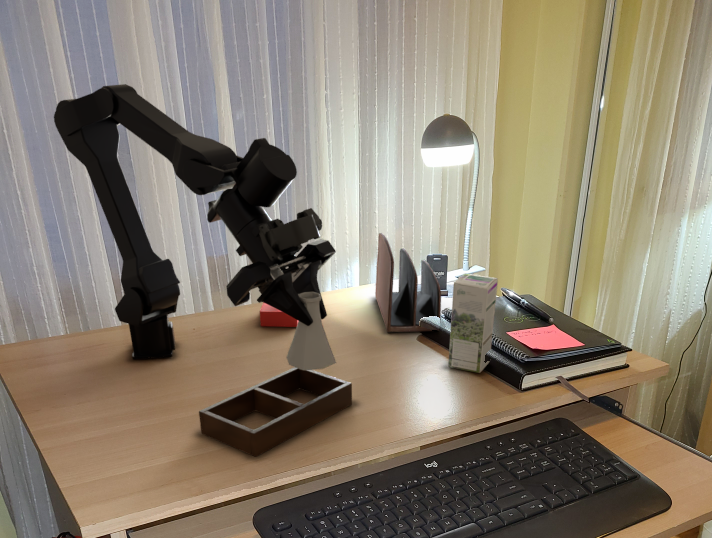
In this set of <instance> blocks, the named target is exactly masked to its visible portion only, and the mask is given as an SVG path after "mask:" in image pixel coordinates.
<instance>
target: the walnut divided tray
mask: <svg viewBox="0 0 712 538" xmlns="http://www.w3.org/2000/svg"><path fill="white" fill-rule="evenodd" d="M352 388H353V383H352V382H350V381H347V380H344V379H341V378H338V377H334V376H332V375H330V374H329V375H328V374H326V373H322V372H319V371H317V370H301V369H299V368H296V367H292V368H290V369H287V370H286V371H283V372H281V373H279V374H276V375H275V376H272V377H270V378H268V379H265V380H264V381H261V382H259V383H257V384H255V385H253V386H251V387H248V388H246V389H244V390H241V391H239V392H238V393H235V394H233V395H230V396H229V397H226V398H225V399H222V400H220V401H218V402H215V403H213V404H211V405H209V406H207V407H205V408H202V409H200V410H199V411H198V416H199V425H200V432H201V434H202V435H204V436H206V437H208V438H211V439H213V440H215V441H218V442H220V443H222V444H224V445H226V446H227V445H228V446H230V447H233V448H235V449H237V450H239V451H241V452H244V453H246V454H248V455H250V456H253V457H255V458H257V457H258V456H260V455H263V454H264V453H266V452H268V451H269V450H271V449H273V448H276V446H278V445H280V444H282V443H284V442H286V441H288V440H289V439H291V438H293V437H295V436H297V435H299V434H300V433H302V432H304V431H306V430H308V429H310V428H312V427H313V426H315V425H317V424H319V423H321V422H322V421H324V420H327V419H328V418H330V417H331V416H333V415H335V414H337V413H338V412H341V411H342V410H344V409H346V408H348V407H350V406H352V404H353V389H352ZM299 390H302V391H305V392H308V393H311V394H314V395H316V396H317V397H315V398H313V399H311V400H310V401H308V402H306V403H301V402H298V401H296V400H293V399H290V398H288V397H286V396H288V395H290V394H292V393H294V392H297V391H299ZM255 411H256V412H258V413H260V414H262V415H266V416H268V417H270V418H273V419H272V420H271V421H269V422H267V423H264V424H263V425H260V426H259V427H257V428H253V429H252V428H251V427H247V426H245V425H242V424H240V423H237V422H235V421H237V420H239V419H241V418H243V417H245V416H247V415H249V414H251V413H253V412H255Z"/></svg>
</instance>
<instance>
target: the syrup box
mask: <svg viewBox="0 0 712 538" xmlns="http://www.w3.org/2000/svg"><path fill="white" fill-rule="evenodd" d="M498 283H499V278H497V277H492V276H485V275H479V274H473V273H463V274H461V275H460V276H459V277H458V278H457V279H455V281H454V282H453V288H452V301H451V303H452V304H451V320H450V333H449V334H450V335H449V350H448V364H447V365H448V366H447V367H448V368H451V369H457V370H462V371H466V372H472V373H477V374H481V372H482V371H484V369H485V368H486V367H487V365H489V363H490V361H487V362H486V363H485V362H484V361H485V355H486V353H487V352H488V351H489V350H490V349H491V350H492V341H493V330H494V320H495V311H496V302H497V293H498Z"/></svg>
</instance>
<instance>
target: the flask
mask: <svg viewBox="0 0 712 538" xmlns="http://www.w3.org/2000/svg"><path fill="white" fill-rule="evenodd" d="M298 296H299V298H300V299H301V301H302V302H303V304H304V305H305V307H306V309H307V310H308V312H309V314H310V316H311V318H312V319H313V323H312V324H311V325H310V326H307V325H305V324H303V323H302V322H300V321H298V325H297V327H295V331H294V334H293V338H292V340H291V343H290V346H289V348H288V350H287V351H288V352H287V355H286V360H287V363H288V365H289V366H291V367H292V368H294V367H296V368H299V369H301V370H314V371H316V370H323V369H327V368H328V367H331V366H333V365H335V364H337V360H336V357H335V355H334V352H333V349H332V348H331V345H330V341H329V340H328V337H327V334H326V331H325V328H324V324H323V321H322V319H321V316H320V309H319V301H321V296H322V294H321V295H320V294H319V293H316V292H304V293H301V294H298Z"/></svg>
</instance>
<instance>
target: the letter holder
mask: <svg viewBox="0 0 712 538" xmlns="http://www.w3.org/2000/svg"><path fill="white" fill-rule="evenodd" d="M377 238H378V240H377V253H376V270H375V271H376V272H375V274H376V275H375V292H374V294H375V295H374V296H375V299H376V303H377V305H378V308H379V312H380V315H381V317H382V320H383V323H384V326H385V329H386V332H387V333H388V334H391V333H419V332H420V333H421V332H433V331H432V330H430V329H427V328H425V327H420V326H419V321H420V319H421V318H423V317H429V316H437V317H439V318H440V319H441V315H442V314H441V311H442V291H441V286H440V282H439V280H438V278H437V276H436V273H435V272H434V270H433V268H432V267H431V265H430V263H429V262H428V261H427V260H425V259H421V261H420V265H421V266H420V290H419V291H418V285H419V280H418V274H417V271H416V267H415V264H414V262H413V260H412V258H411V255H410V253H408V250H407V249H405V247H401V248H399V261H398V265H399V266H398V291H393V289H394V276H395V260H394V256H393V255H394V254H393V251H392V248H391V245H390V243H389V240H388V238H387V237H386V235H385V234H384V233H383V232H379V233H378V237H377Z"/></svg>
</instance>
